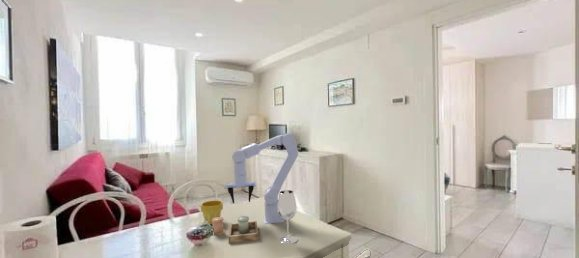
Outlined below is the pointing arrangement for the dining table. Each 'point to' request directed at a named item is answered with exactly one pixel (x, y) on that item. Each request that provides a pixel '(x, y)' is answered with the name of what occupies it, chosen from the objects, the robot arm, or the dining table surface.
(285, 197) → the wineglass
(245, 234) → the wooden tray
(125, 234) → the dining table surface
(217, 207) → the plant pot
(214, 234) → the cork mat
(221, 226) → the terracotta pot
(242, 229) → the sage pot
